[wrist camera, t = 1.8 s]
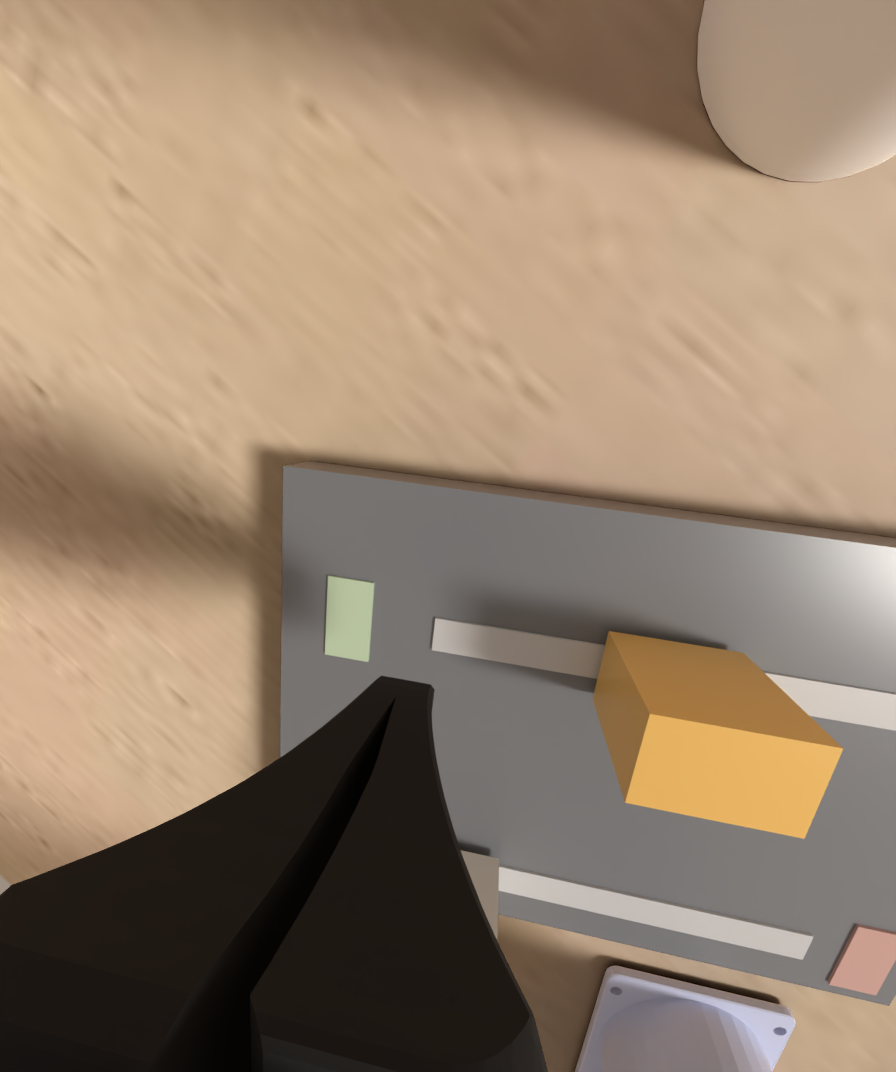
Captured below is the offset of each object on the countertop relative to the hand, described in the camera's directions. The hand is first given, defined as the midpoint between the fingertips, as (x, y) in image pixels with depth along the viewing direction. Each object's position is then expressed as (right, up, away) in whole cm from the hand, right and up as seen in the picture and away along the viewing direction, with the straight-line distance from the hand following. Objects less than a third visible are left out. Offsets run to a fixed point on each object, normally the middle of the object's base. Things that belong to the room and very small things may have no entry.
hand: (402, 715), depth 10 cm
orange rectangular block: (+8, 0, +3) cm, 9 cm away
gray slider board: (+7, -3, +6) cm, 10 cm away
